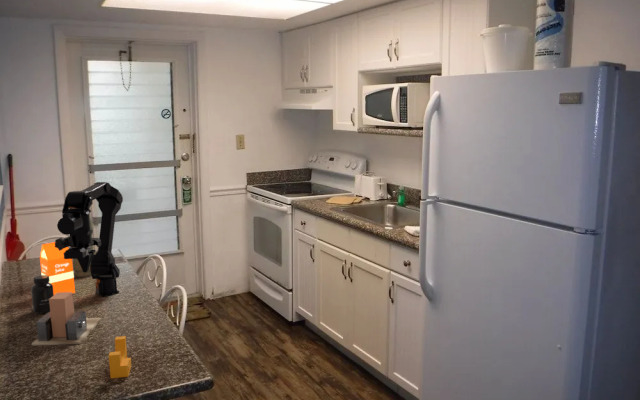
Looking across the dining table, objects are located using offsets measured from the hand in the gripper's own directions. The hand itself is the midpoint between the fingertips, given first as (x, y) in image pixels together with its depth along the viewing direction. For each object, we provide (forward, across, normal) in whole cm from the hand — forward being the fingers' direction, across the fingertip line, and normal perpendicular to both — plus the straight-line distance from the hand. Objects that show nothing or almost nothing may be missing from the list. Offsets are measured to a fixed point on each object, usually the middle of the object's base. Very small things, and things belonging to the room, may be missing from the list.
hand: (85, 272), depth 192 cm
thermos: (+13, -42, -16) cm, 47 cm away
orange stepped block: (+14, +47, +26) cm, 55 cm away
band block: (+12, +25, +1) cm, 28 cm away
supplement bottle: (+13, +1, -15) cm, 20 cm away
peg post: (+12, +24, +1) cm, 27 cm away
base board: (+13, +20, +1) cm, 24 cm away
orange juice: (+13, -17, -17) cm, 27 cm away
